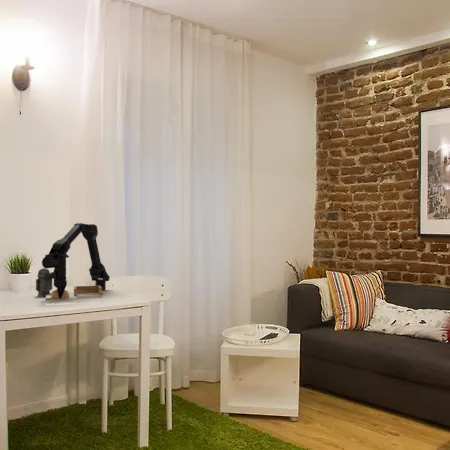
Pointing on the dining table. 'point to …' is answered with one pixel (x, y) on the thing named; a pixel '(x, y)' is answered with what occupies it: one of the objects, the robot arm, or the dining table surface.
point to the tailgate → (89, 296)
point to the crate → (87, 290)
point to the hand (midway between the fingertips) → (60, 297)
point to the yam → (55, 294)
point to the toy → (43, 283)
